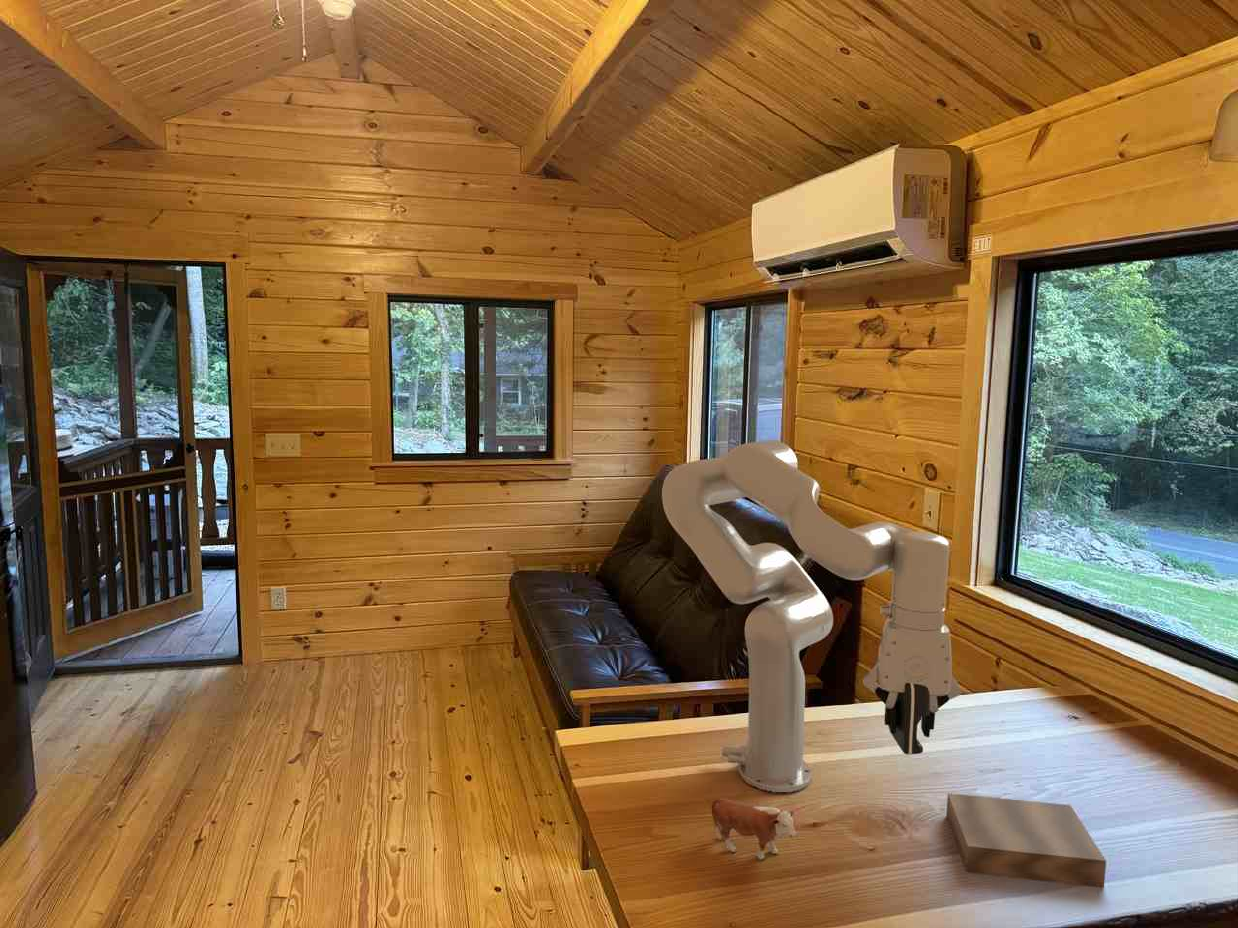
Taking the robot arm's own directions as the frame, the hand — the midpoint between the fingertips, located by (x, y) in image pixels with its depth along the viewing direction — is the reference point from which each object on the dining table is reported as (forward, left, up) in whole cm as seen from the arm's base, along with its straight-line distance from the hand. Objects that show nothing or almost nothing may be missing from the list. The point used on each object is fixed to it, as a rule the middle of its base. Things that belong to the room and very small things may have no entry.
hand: (908, 729), depth 123 cm
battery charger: (0, 0, -3) cm, 3 cm away
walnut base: (+16, -1, -17) cm, 24 cm away
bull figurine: (-23, -9, -17) cm, 30 cm away
